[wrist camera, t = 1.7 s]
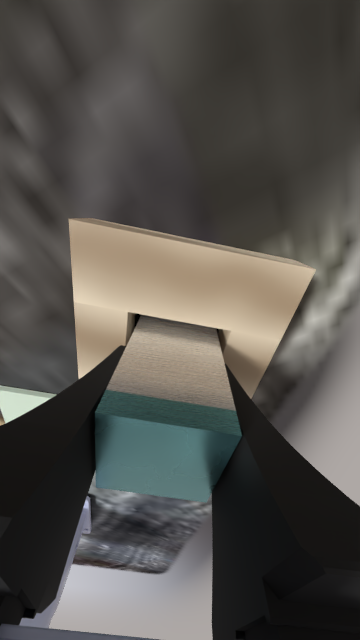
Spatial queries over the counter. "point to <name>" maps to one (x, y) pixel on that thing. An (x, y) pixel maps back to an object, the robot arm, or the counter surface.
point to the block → (166, 413)
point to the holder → (180, 292)
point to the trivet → (20, 401)
